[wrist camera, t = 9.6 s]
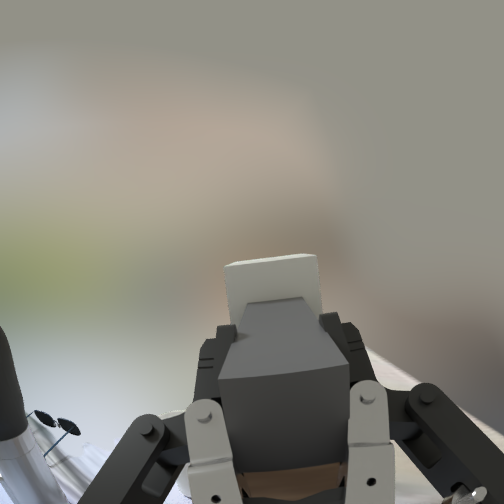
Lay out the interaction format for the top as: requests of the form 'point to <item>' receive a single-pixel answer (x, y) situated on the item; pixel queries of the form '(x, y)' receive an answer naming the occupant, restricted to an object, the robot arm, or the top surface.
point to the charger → (282, 369)
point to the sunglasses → (65, 424)
